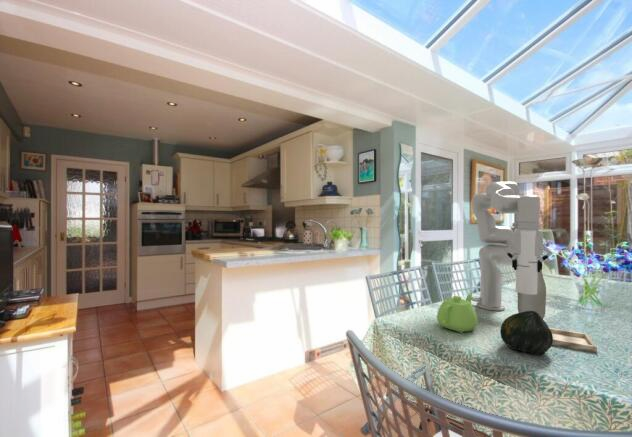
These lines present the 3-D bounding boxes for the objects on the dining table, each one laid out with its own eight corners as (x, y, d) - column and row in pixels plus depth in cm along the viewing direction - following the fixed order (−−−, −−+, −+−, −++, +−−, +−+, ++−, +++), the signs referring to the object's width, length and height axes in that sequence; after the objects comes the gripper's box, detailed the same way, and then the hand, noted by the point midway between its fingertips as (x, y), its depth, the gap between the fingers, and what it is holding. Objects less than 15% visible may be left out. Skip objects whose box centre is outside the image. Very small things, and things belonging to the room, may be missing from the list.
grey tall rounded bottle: (530, 317, 144) (531, 257, 143) (550, 325, 133) (552, 260, 133) (511, 318, 142) (513, 257, 141) (531, 326, 132) (532, 261, 131)
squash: (490, 323, 119) (505, 301, 109) (532, 326, 118) (551, 305, 108) (503, 360, 109) (520, 340, 99) (548, 364, 107) (571, 344, 97)
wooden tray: (546, 343, 114) (546, 338, 114) (542, 331, 126) (542, 326, 126) (597, 352, 107) (597, 347, 107) (587, 339, 119) (587, 333, 119)
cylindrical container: (540, 295, 120) (542, 230, 119) (520, 293, 121) (521, 230, 120) (531, 290, 127) (533, 229, 126) (512, 289, 128) (513, 229, 127)
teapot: (455, 317, 143) (455, 289, 142) (489, 327, 130) (489, 296, 130) (427, 327, 130) (427, 296, 129) (461, 339, 117) (462, 304, 117)
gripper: (502, 226, 124) (501, 269, 125) (556, 227, 115) (555, 274, 116) (502, 225, 131) (501, 267, 131) (553, 226, 122) (552, 271, 122)
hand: (526, 270), depth 124 cm, fingers closed on cylindrical container, 7 cm apart
